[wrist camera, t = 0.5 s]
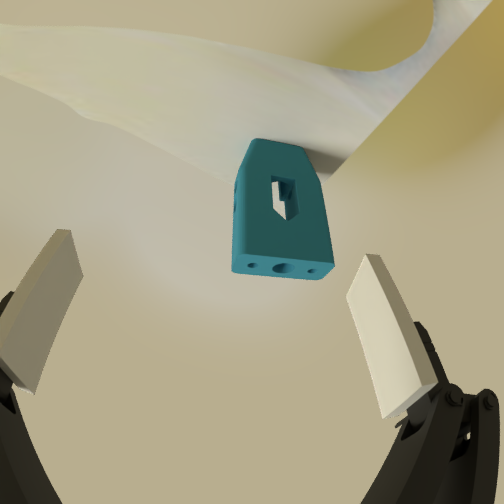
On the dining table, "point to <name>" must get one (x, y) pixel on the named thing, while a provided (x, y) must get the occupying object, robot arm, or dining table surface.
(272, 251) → the block
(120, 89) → the dining table surface
